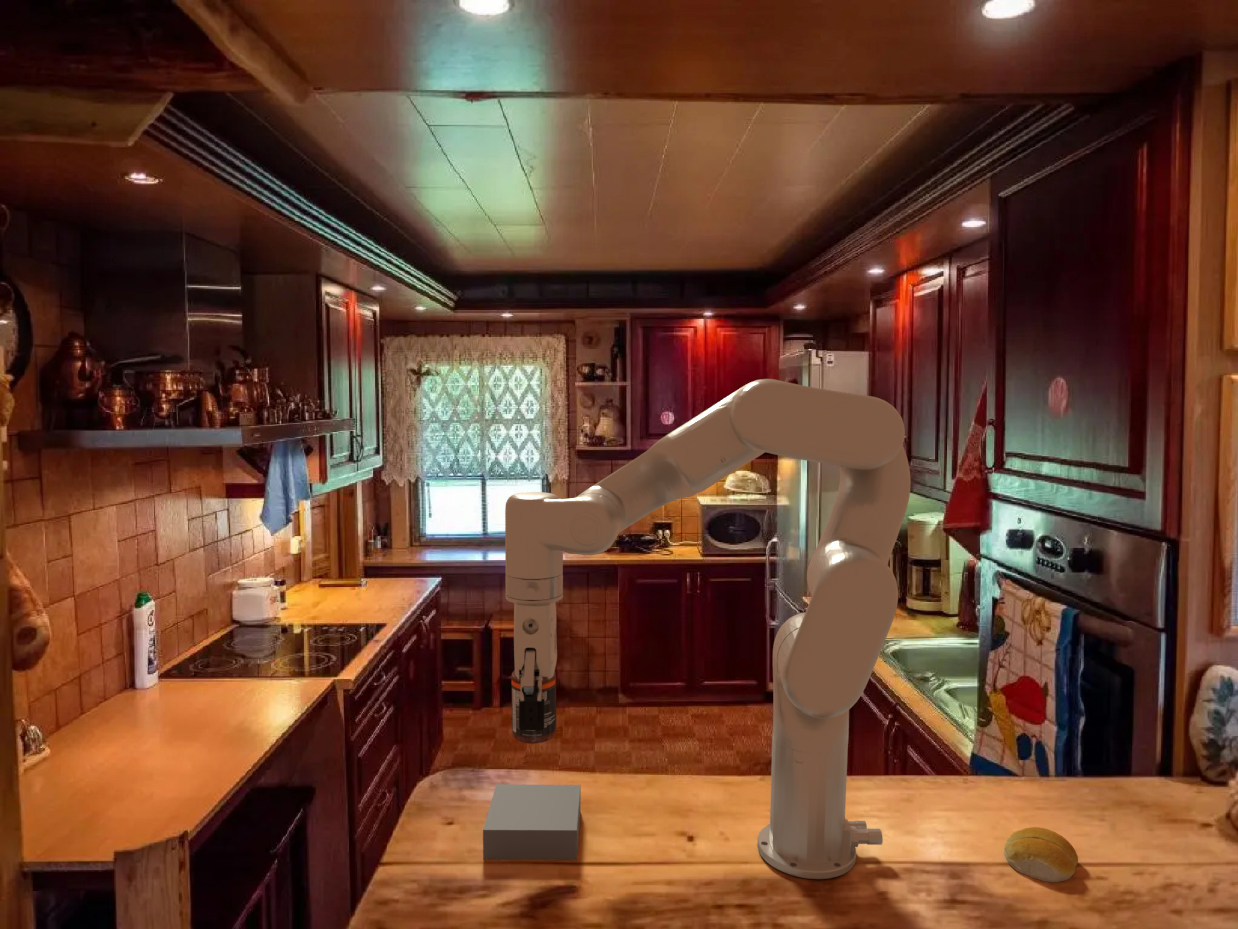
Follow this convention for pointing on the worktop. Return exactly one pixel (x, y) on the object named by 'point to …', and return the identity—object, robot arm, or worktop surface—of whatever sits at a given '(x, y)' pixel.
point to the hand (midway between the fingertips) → (534, 717)
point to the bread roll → (1041, 854)
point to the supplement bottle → (549, 711)
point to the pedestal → (532, 823)
